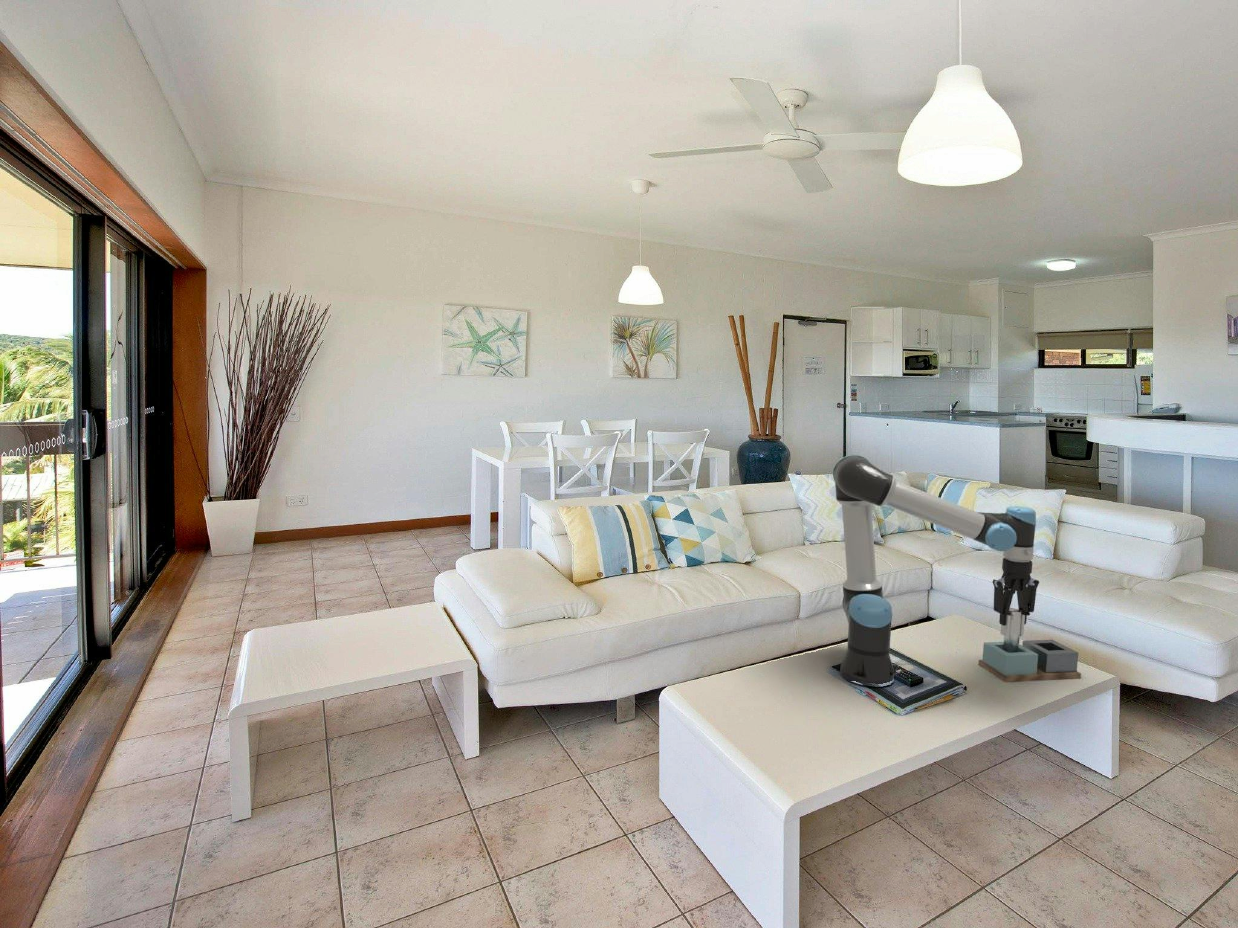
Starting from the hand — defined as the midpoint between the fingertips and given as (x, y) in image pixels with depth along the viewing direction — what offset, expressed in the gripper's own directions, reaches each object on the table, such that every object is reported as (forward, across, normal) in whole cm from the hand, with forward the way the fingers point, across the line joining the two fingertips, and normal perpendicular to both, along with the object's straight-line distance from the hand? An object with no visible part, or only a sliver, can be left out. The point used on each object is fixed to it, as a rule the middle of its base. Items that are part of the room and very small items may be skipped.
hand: (1011, 634), depth 194 cm
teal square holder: (+10, 0, 0) cm, 10 cm away
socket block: (+10, +13, 0) cm, 17 cm away
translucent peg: (+6, 0, 0) cm, 6 cm away
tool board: (+12, +6, 0) cm, 13 cm away
